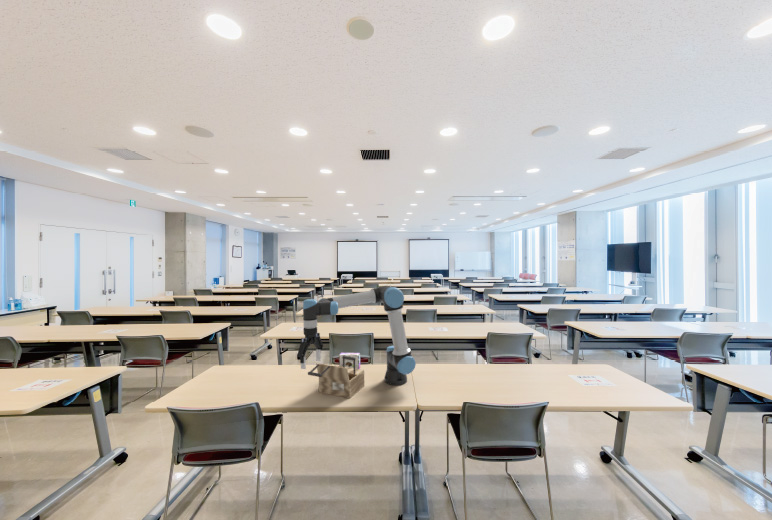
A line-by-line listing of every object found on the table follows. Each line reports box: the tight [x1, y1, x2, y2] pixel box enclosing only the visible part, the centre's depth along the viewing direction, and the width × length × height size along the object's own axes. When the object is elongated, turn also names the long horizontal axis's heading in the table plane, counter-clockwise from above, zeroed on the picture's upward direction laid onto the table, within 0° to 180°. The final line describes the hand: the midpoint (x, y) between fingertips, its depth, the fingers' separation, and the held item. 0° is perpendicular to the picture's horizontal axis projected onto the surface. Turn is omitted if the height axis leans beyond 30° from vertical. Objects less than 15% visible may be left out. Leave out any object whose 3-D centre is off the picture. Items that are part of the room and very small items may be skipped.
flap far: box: [334, 356, 365, 376], centre depth 202 cm, size 22×9×11 cm, turn 66°
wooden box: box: [318, 370, 365, 399], centre depth 198 cm, size 22×18×10 cm
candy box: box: [338, 352, 361, 369], centre depth 217 cm, size 14×6×16 cm, turn 84°
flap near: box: [307, 362, 349, 382], centre depth 184 cm, size 22×9×11 cm
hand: (311, 364), depth 178 cm, fingers open, 13 cm apart
